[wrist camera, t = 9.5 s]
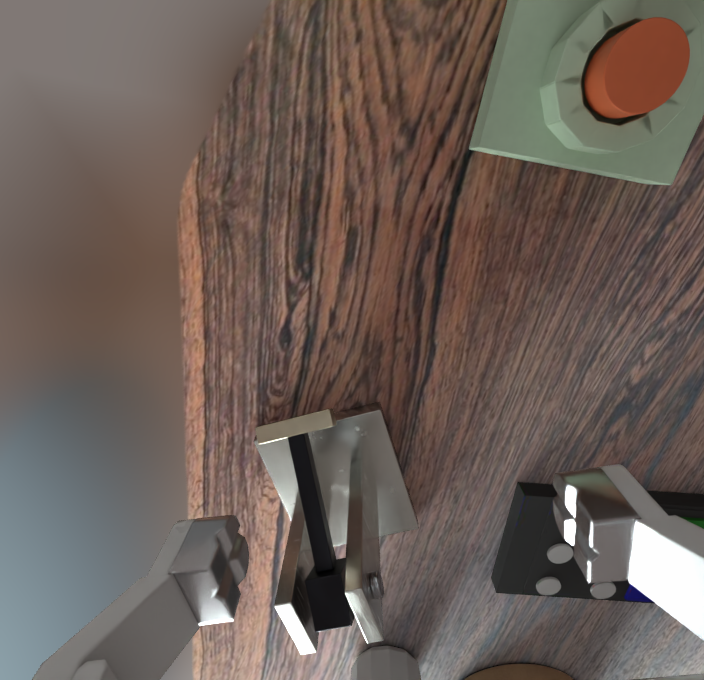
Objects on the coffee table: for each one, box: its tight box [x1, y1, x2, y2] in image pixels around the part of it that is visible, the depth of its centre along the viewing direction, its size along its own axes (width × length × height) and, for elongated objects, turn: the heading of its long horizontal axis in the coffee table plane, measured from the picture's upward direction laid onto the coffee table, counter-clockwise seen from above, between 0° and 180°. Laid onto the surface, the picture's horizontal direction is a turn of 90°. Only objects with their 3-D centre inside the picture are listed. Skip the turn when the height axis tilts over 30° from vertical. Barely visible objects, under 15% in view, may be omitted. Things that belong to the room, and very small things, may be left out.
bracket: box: [254, 402, 419, 655], centre depth 28 cm, size 12×10×12 cm
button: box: [584, 17, 690, 119], centre depth 19 cm, size 4×4×2 cm
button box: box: [469, 0, 704, 185], centre depth 21 cm, size 11×8×4 cm
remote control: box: [491, 482, 704, 603], centre depth 34 cm, size 11×30×2 cm, turn 86°
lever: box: [255, 408, 355, 632], centre depth 25 cm, size 12×5×2 cm
